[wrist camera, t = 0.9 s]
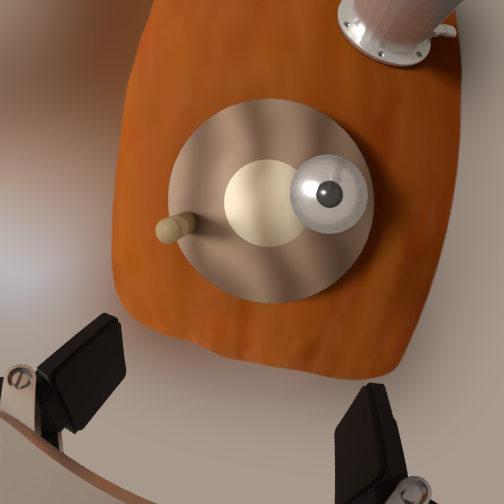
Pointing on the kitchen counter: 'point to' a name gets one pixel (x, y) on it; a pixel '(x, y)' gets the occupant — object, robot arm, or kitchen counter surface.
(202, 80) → the kitchen counter surface
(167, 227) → the disc
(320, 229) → the cover
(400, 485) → the robot arm
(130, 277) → the kitchen counter surface
